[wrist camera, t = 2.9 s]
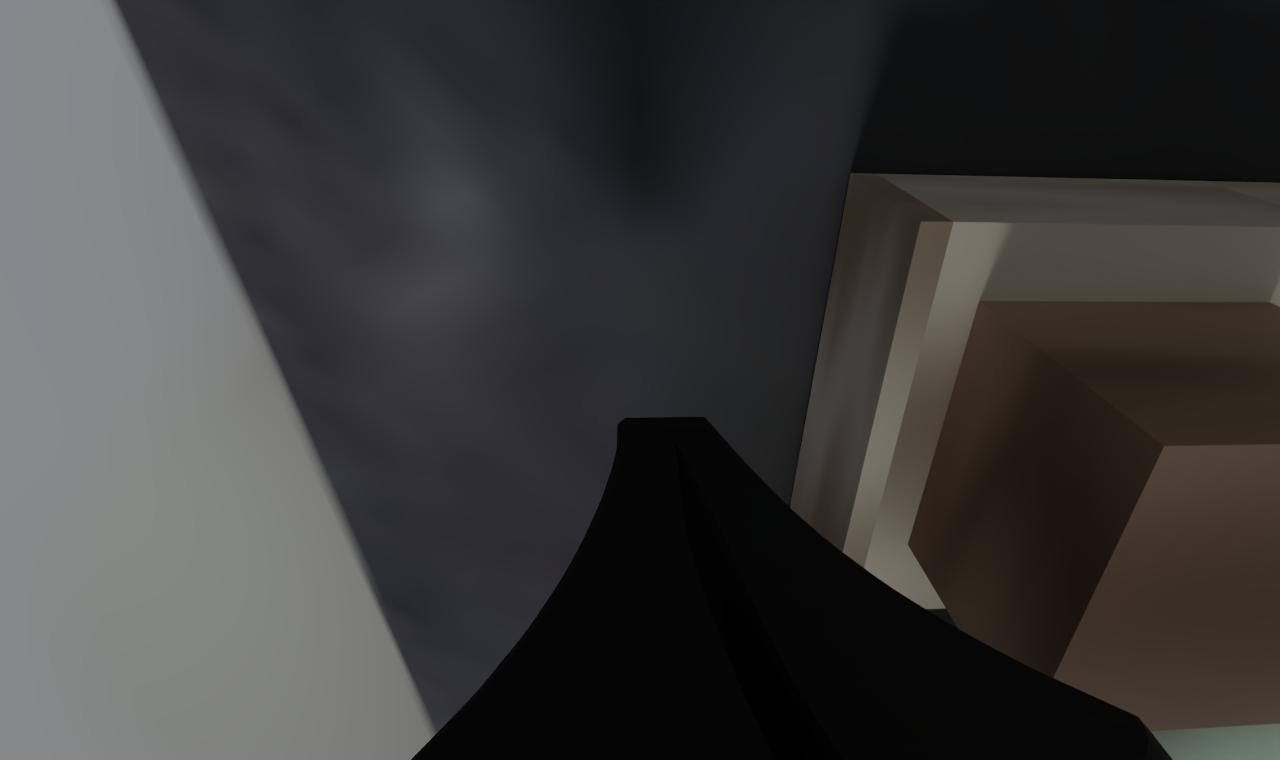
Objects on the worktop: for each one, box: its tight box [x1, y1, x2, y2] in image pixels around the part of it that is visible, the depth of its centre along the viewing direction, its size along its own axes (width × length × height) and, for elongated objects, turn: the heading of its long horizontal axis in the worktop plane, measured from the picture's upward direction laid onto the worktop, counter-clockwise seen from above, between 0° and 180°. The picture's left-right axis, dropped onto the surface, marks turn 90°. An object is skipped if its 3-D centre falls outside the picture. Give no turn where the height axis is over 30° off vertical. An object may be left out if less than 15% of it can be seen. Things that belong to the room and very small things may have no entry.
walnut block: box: [908, 301, 1280, 731], centre depth 11 cm, size 5×5×4 cm
